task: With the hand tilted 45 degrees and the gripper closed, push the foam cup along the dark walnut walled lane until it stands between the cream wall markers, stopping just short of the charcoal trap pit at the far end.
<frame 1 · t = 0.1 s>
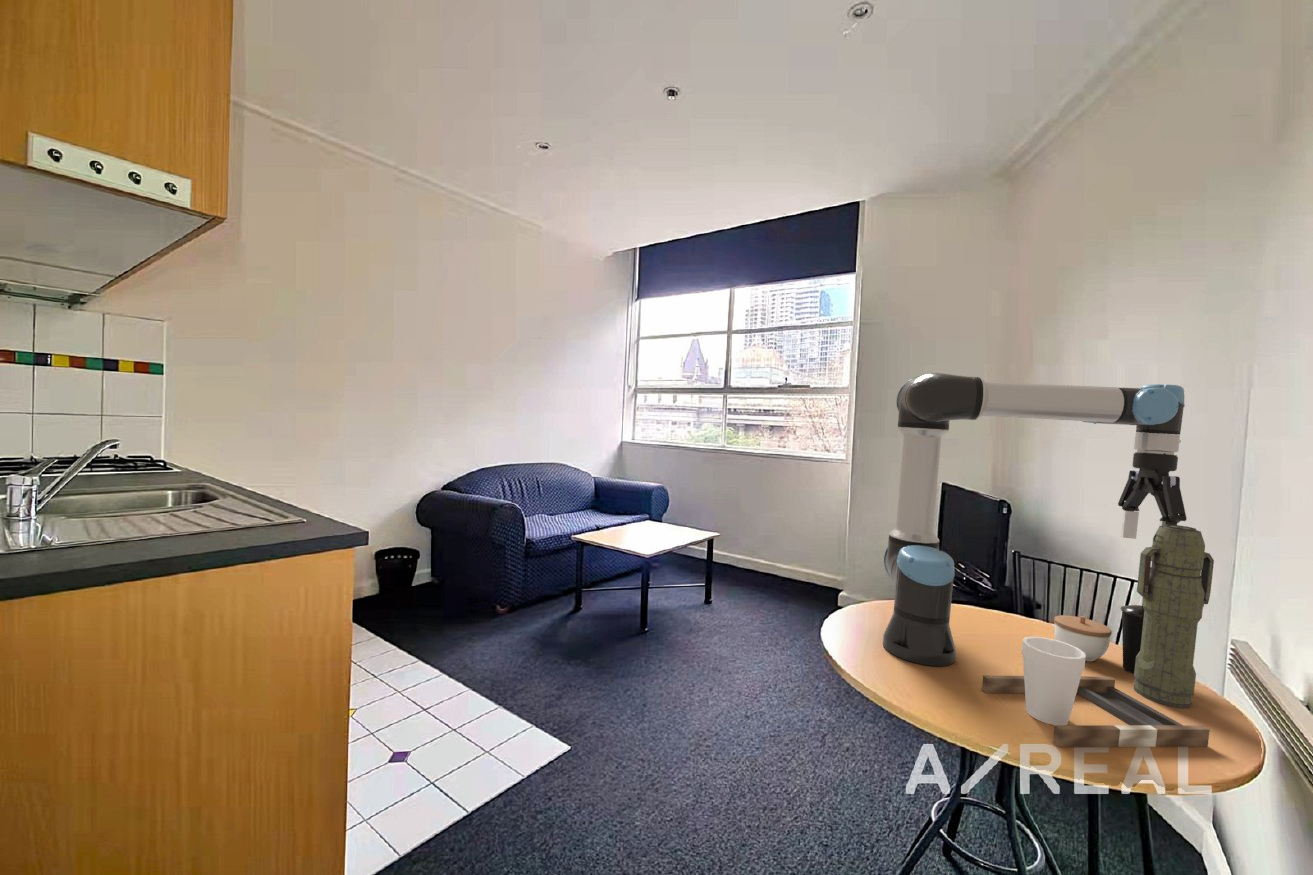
hand: (1145, 544, 125), 28 cm above the table, tool pointing down, fingers open, 13 cm apart
thermos: (1161, 697, 111), on the table
foam cup: (1046, 717, 100), on the table
lidded jar: (1079, 656, 129), on the table
lane: (1086, 716, 101), on the table
drinking cup: (1136, 672, 122), on the table
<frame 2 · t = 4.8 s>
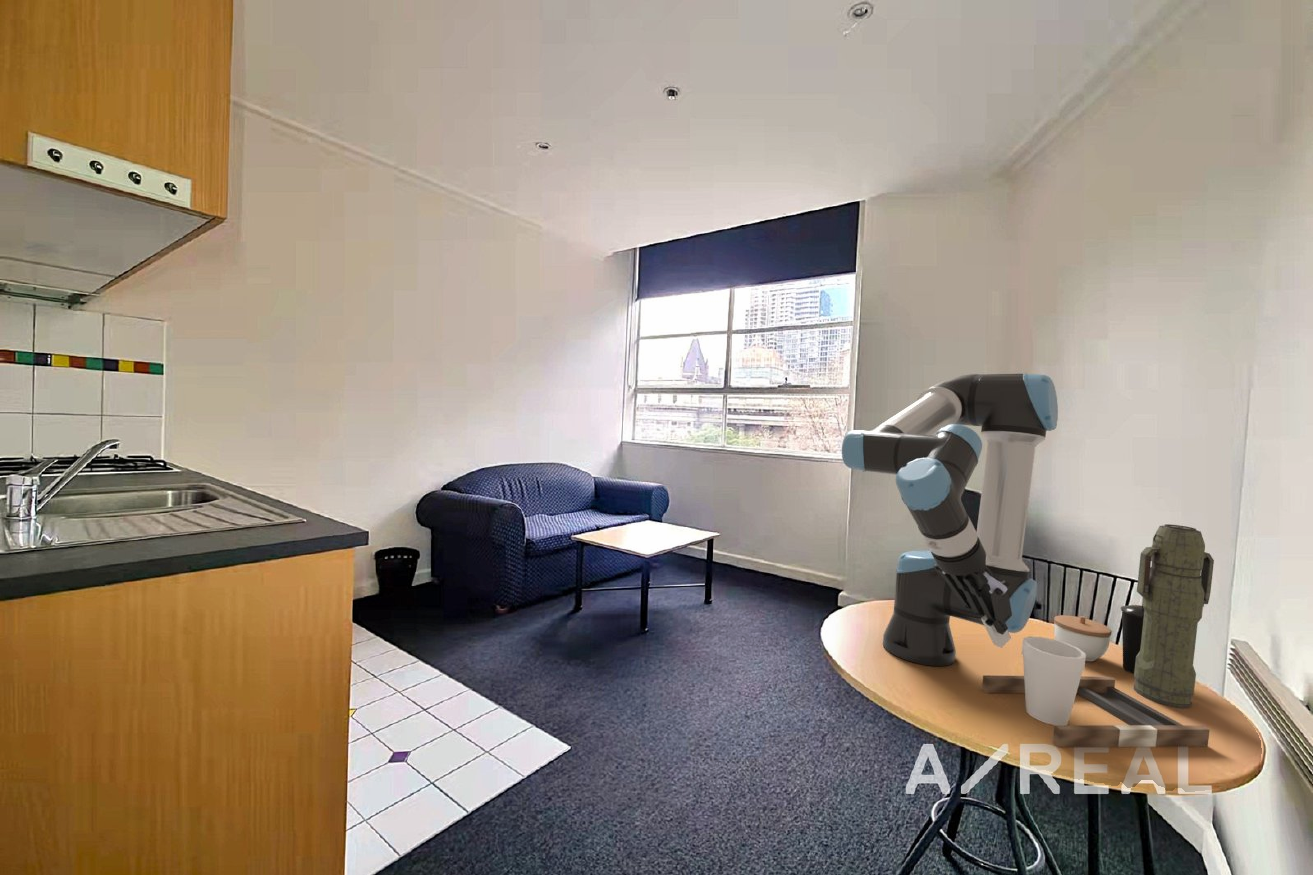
hand: (1002, 640, 96), 15 cm above the table, tool tilted 40°, fingers closed
nothing on the table moved.
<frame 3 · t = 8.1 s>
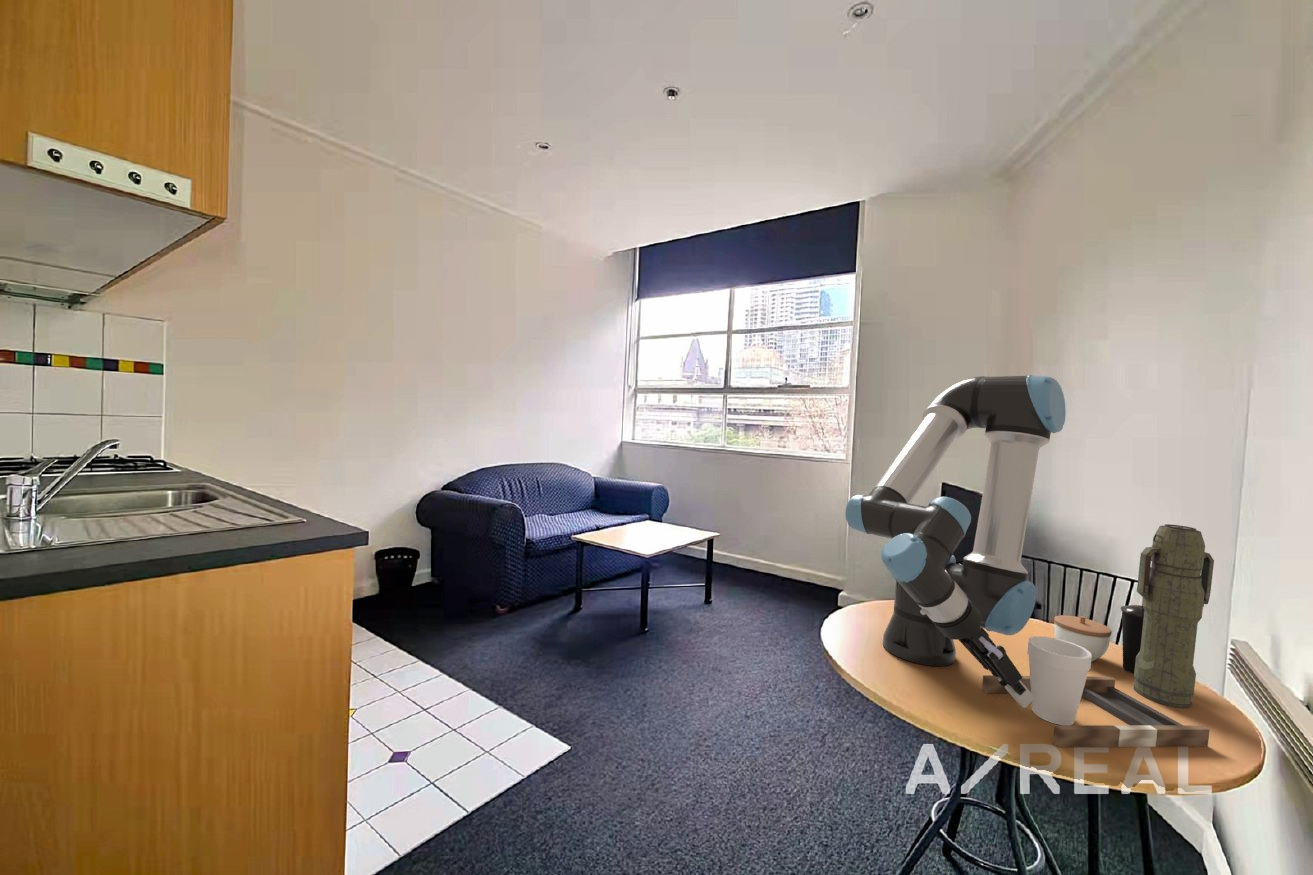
hand: (1026, 701, 99), 3 cm above the table, tool tilted 45°, fingers closed
foam cup: (1052, 716, 100), on the table, touching gripper
everything else where it was.
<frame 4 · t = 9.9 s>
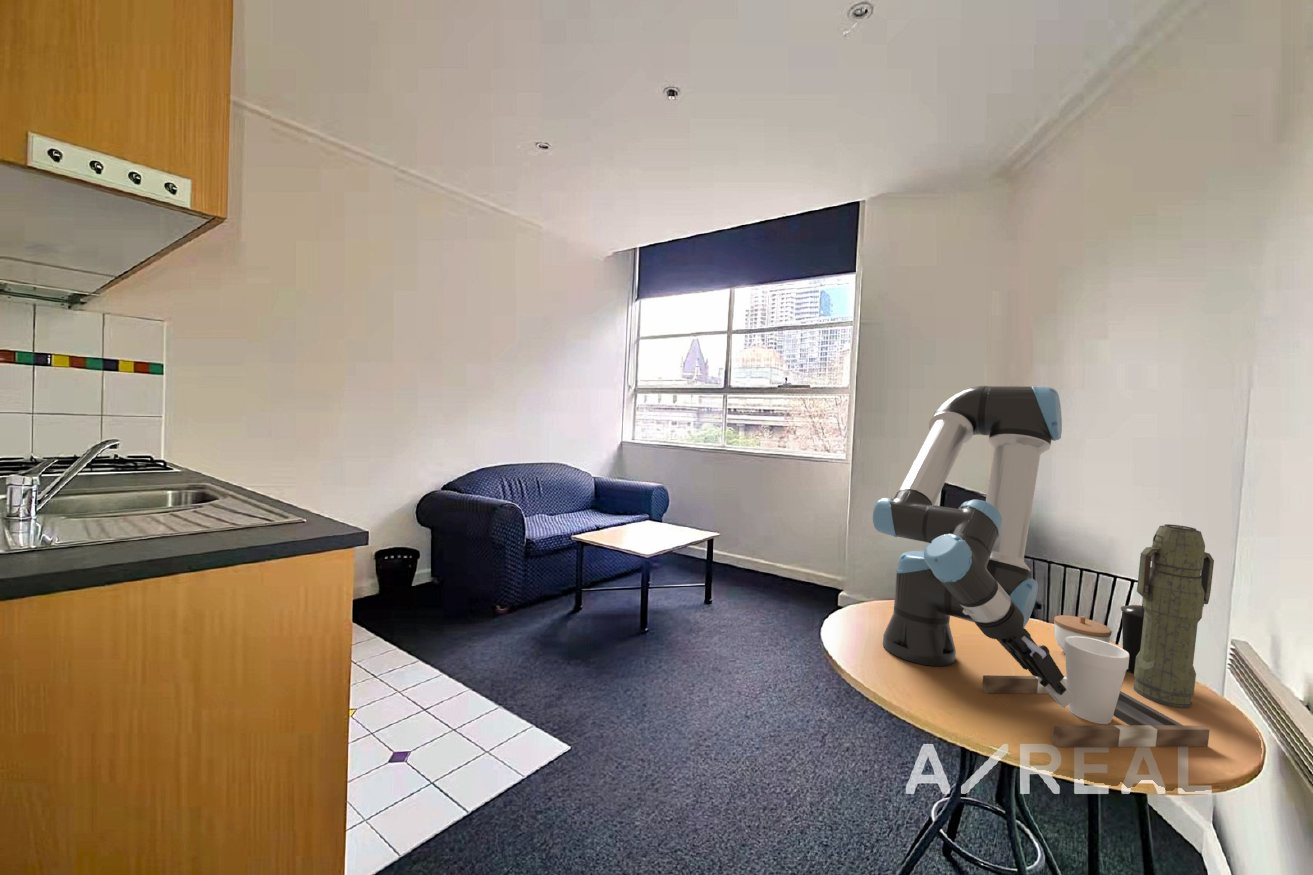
hand: (1066, 700, 100), 3 cm above the table, tool tilted 45°, fingers closed
foam cup: (1089, 715, 102), on the table, touching gripper, lane
everything else where it was.
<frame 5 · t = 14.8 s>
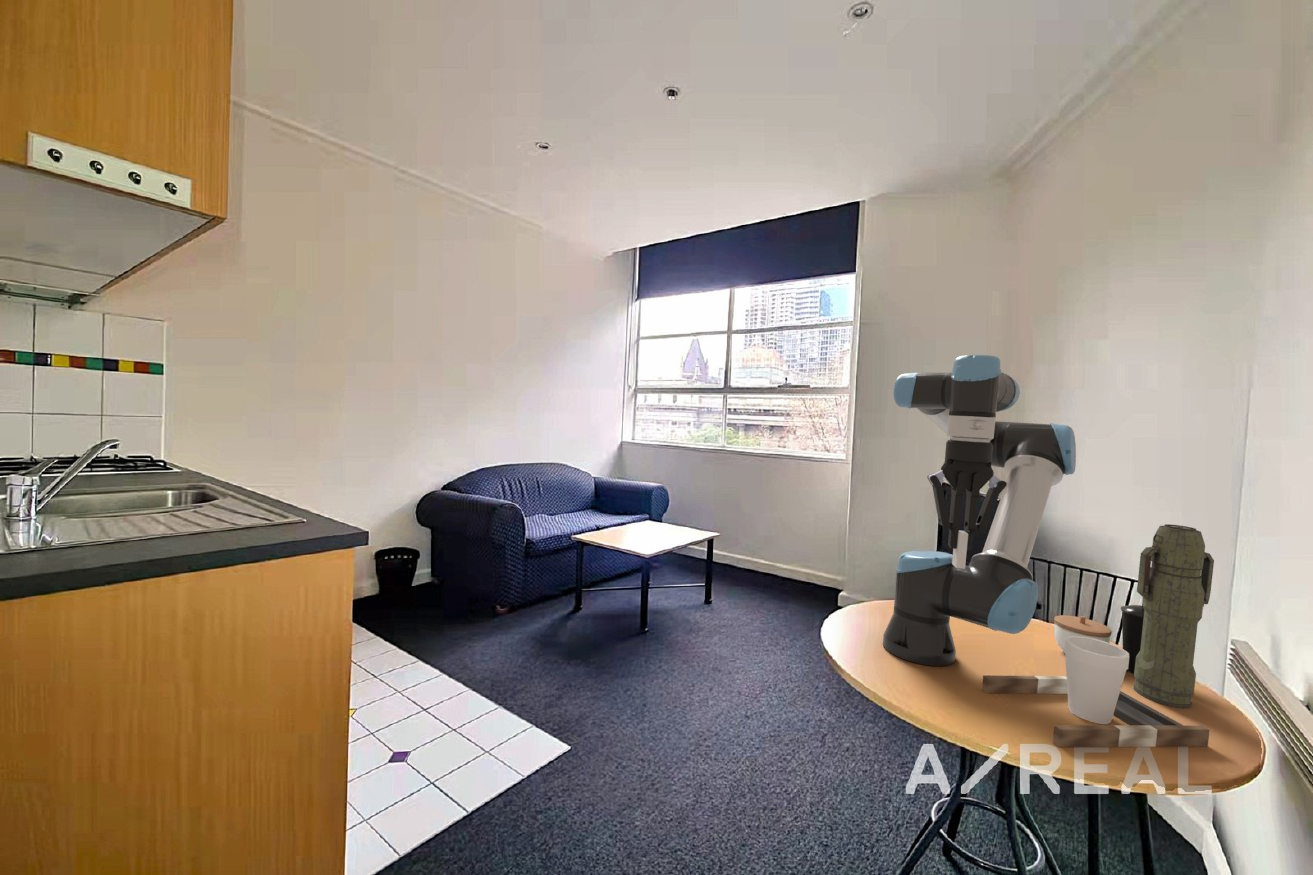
hand: (958, 566, 101), 26 cm above the table, tool pointing down, fingers closed
foam cup: (1089, 715, 102), on the table
everything else where it was.
at the end: foam cup 1.4 cm from the lane (horizontally); foam cup tilted 0°; foam cup moved 9.3 cm from its start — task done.
